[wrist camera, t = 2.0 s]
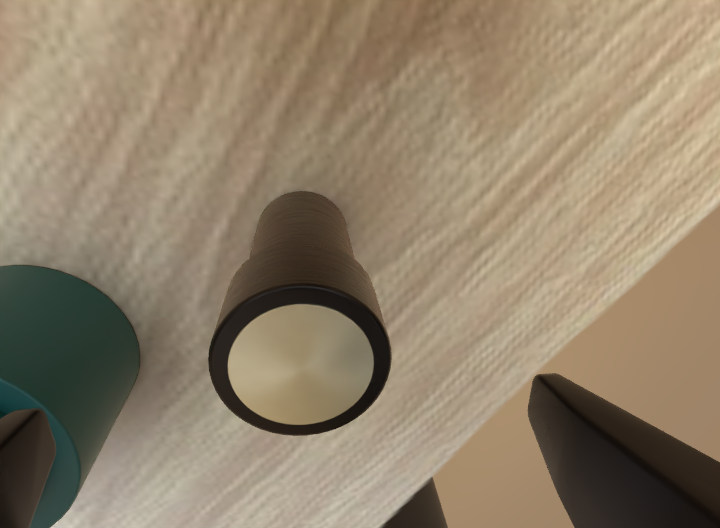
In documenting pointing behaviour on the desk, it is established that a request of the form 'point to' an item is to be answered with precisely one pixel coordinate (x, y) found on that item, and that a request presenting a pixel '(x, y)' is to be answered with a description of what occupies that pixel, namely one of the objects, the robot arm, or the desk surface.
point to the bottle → (64, 370)
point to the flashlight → (300, 325)
